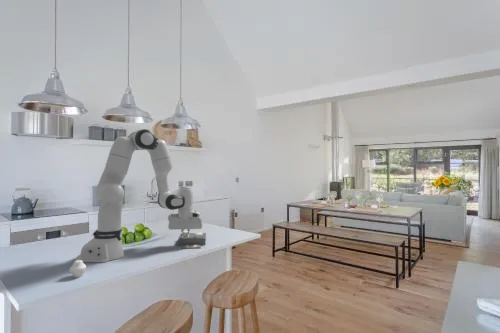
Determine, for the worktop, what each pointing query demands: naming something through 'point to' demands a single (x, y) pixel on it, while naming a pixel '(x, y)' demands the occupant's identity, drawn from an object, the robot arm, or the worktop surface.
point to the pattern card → (190, 246)
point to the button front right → (198, 235)
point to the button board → (192, 240)
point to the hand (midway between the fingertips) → (185, 236)
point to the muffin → (78, 268)
